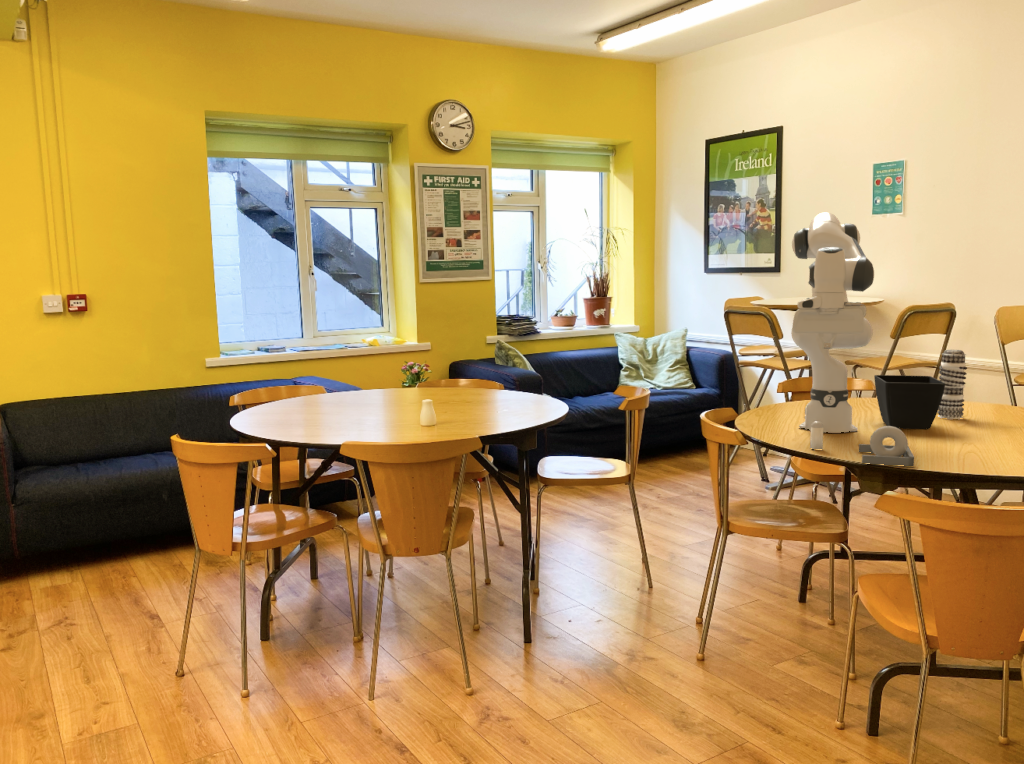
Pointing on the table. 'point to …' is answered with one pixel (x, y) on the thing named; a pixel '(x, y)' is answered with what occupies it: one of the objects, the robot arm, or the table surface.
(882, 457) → the tray
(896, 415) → the flower pot
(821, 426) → the salt shaker
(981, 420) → the table surface
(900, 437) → the donut
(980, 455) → the table surface
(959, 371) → the decorative candle
